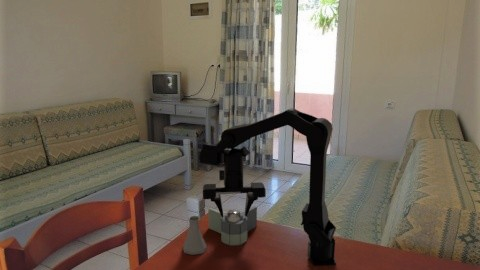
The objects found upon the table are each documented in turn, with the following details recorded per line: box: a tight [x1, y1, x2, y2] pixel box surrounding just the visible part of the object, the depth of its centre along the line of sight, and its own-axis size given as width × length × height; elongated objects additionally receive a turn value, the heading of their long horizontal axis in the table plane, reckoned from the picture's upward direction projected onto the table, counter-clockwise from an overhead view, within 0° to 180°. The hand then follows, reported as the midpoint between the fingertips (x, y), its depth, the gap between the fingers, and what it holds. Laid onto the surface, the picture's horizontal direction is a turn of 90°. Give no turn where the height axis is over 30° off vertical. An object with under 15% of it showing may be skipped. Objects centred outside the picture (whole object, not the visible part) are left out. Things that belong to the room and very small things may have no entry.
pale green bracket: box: [207, 207, 248, 246], centre depth 112 cm, size 15×8×7 cm, turn 49°
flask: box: [182, 215, 208, 256], centre depth 104 cm, size 7×7×10 cm
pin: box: [226, 208, 241, 222], centre depth 110 cm, size 4×4×9 cm
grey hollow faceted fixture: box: [221, 205, 258, 235], centre depth 113 cm, size 15×8×7 cm, turn 139°
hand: (234, 216), depth 109 cm, fingers open, 7 cm apart
